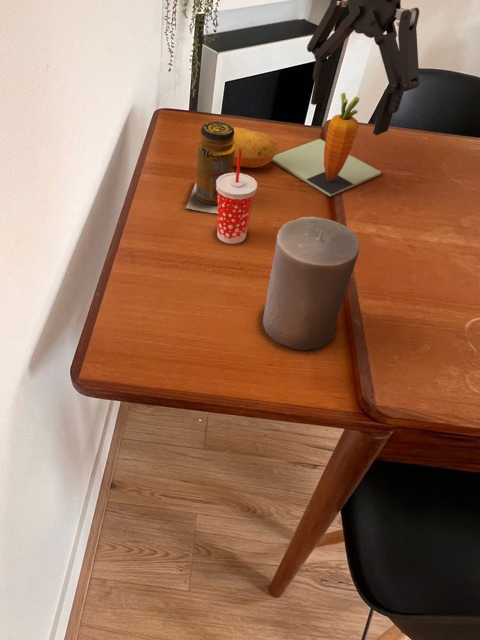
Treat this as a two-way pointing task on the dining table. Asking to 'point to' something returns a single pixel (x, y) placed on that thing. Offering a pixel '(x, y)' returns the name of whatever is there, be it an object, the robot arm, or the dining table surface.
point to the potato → (253, 148)
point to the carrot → (340, 138)
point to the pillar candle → (309, 281)
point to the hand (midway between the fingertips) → (347, 117)
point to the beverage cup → (234, 204)
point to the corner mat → (311, 168)
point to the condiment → (212, 164)
